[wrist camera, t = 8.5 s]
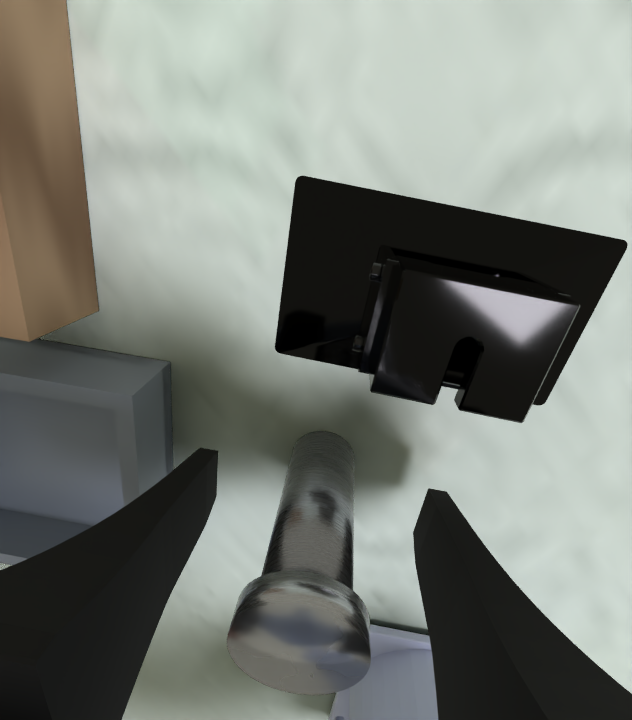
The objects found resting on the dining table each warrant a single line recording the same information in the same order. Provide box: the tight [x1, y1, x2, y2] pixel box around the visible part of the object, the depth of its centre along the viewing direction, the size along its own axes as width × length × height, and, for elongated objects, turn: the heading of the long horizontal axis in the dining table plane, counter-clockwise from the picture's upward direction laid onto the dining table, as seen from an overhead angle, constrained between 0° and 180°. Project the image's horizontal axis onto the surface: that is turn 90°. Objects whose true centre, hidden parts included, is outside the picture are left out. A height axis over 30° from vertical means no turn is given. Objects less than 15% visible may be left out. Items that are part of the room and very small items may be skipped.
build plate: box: [275, 176, 627, 423], centre depth 10 cm, size 12×7×5 cm, turn 80°
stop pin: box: [227, 431, 371, 695], centre depth 11 cm, size 3×3×7 cm
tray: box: [0, 337, 173, 565], centre depth 14 cm, size 9×9×2 cm
